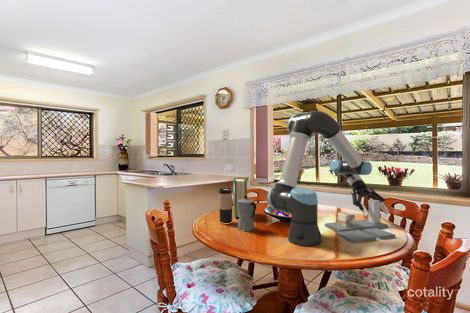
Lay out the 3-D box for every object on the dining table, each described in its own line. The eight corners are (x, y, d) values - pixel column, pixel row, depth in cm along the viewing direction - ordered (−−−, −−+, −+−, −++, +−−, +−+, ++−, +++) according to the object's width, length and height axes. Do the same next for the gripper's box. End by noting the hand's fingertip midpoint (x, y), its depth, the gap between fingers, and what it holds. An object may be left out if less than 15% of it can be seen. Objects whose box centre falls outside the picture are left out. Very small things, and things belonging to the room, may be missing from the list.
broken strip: (352, 243, 110) (352, 239, 110) (335, 235, 121) (335, 232, 121) (395, 237, 116) (395, 234, 116) (376, 230, 127) (376, 227, 127)
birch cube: (345, 227, 129) (345, 215, 129) (338, 223, 134) (337, 212, 134) (355, 226, 130) (355, 214, 130) (347, 223, 136) (347, 212, 136)
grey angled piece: (339, 232, 124) (339, 205, 124) (324, 226, 136) (324, 201, 136) (388, 227, 132) (387, 201, 132) (370, 221, 144) (370, 198, 143)
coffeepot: (232, 227, 137) (231, 194, 136) (246, 224, 142) (245, 193, 142) (248, 234, 124) (248, 198, 124) (263, 231, 129) (262, 196, 129)
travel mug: (220, 221, 150) (219, 188, 150) (232, 221, 150) (232, 187, 150) (218, 224, 142) (218, 189, 142) (232, 224, 142) (231, 189, 142)
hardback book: (247, 218, 155) (246, 180, 155) (235, 218, 155) (234, 180, 155) (244, 212, 173) (244, 177, 173) (233, 212, 173) (233, 177, 172)
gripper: (370, 186, 155) (391, 215, 140) (336, 188, 148) (354, 219, 134) (377, 178, 150) (400, 208, 135) (342, 180, 143) (362, 211, 129)
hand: (377, 214), depth 135 cm, fingers open, 13 cm apart
